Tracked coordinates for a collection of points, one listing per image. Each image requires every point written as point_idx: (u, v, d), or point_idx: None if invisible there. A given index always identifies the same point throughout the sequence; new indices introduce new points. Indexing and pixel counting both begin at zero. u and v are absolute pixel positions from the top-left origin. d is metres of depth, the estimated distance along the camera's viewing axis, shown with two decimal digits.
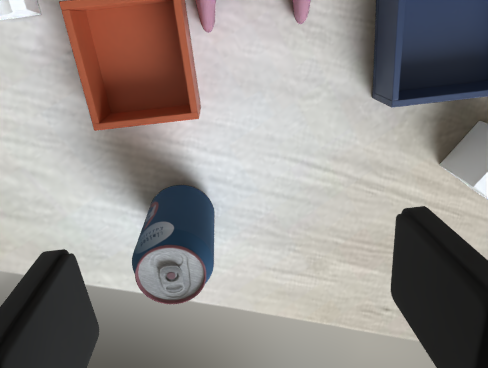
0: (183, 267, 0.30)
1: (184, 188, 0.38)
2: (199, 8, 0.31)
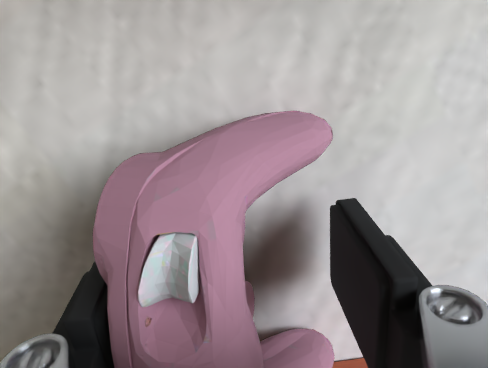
0: None
1: None
2: None
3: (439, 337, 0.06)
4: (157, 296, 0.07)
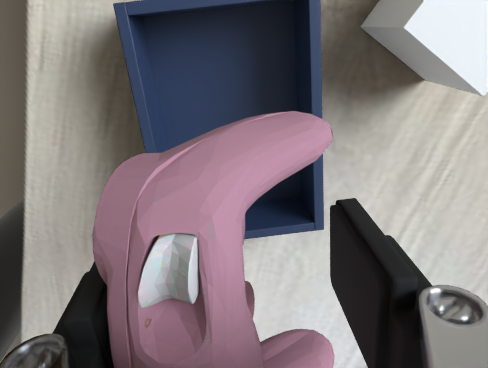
0: None
1: None
2: None
3: (439, 337, 0.06)
4: (157, 297, 0.07)
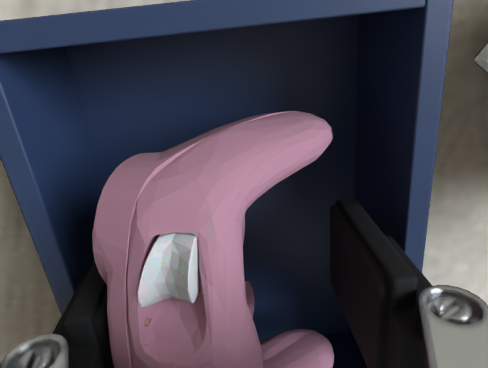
0: None
1: None
2: None
3: (439, 337, 0.06)
4: (157, 296, 0.07)
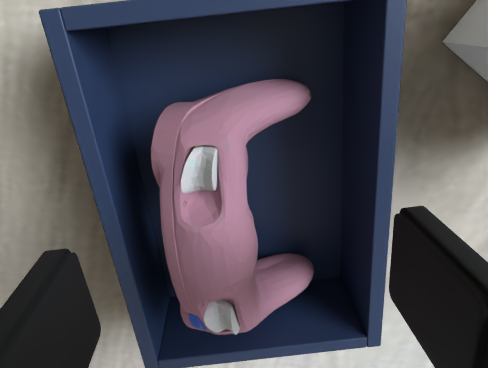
0: None
1: None
2: None
3: None
4: (191, 186, 0.11)
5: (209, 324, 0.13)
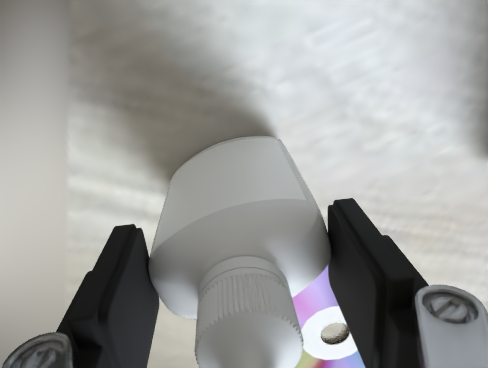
0: None
1: None
2: None
3: (435, 337, 0.06)
4: None
5: None
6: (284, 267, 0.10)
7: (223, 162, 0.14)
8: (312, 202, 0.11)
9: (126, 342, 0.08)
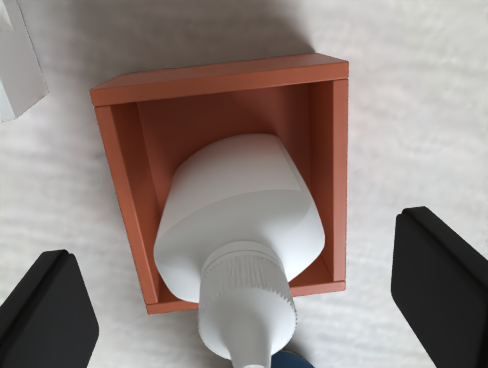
0: None
1: None
2: None
3: None
4: None
5: None
6: (279, 251, 0.11)
7: (224, 157, 0.15)
8: (306, 192, 0.12)
9: None
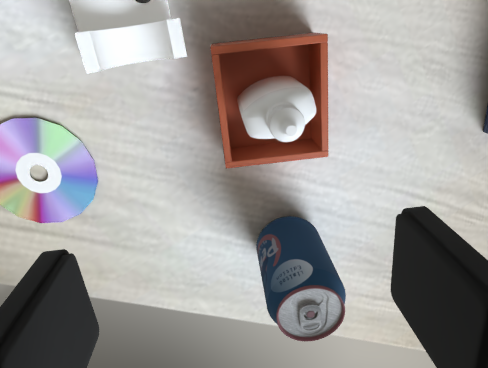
0: (322, 305, 0.31)
1: (296, 220, 0.38)
2: None
3: None
4: None
5: None
6: (297, 109, 0.27)
7: (267, 83, 0.31)
8: (308, 89, 0.27)
9: None
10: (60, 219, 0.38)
